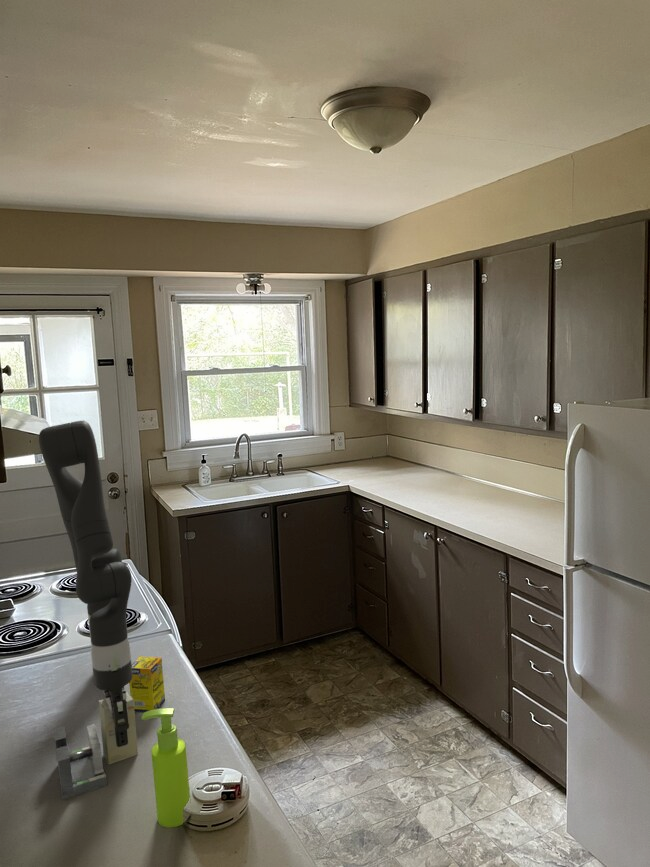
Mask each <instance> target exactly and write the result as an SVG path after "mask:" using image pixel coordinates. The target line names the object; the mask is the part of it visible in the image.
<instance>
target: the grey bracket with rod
mask: <svg viewBox="0 0 650 867" xmlns="http://www.w3.org/2000/svg"><path fill="white" fill-rule="evenodd" d="M65 728H66V727H65V726H60V727H56V728H53V734H54V744H55V752H56V762H57V769H58V777H59V784H60V791H61V800H66V799H69V798H72V797H76V796H79V795H81V794H85V793H87V792H91V791H93V790H97V789H99V788H103V787H105V786H107V785H108V782H107V781H108V780H107V775H106V774H107V773H105V770H104V768H103V774H102V775H99V776H96V777H95V774H94V770H93V766H92V761H91V757H86V758H83V759H80V760H77V761H73V762H70V756H69V755H70V754H74V753H77V752H80V751H84V750H87V749H89V746H87V747H86V746H85V747H82V748H79V749H75V750H72V751H71V752H69V746H68V741H67V733H66V729H65Z"/></svg>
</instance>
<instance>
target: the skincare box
mask: <svg viewBox="0 0 650 867" xmlns="http://www.w3.org/2000/svg"><path fill="white" fill-rule="evenodd" d="M126 696H127V698H126V701H127V709H128V713H127V714H128V724H129V729H127V735H128V744H127V745H124V746H121V747H117V744H116V736H115V729H114V722H113V719H111V718H110V714H109V707H108V705H107V704H106V699H105V698H103V699H99V700H98V707H99V719H100V720H99V721H100V730H101V732H100V733H101V742H102V753H103V755H102V756H104V759H105V762H106V763H107V765H112V764H115V763H117V762H118V763H119V762H120V761H123V760H127V759H129V758H132V757H134V756H137V755H138V753H139V752H138V742H137V740H138V739H137V729H136V727H137V726H136V714H135V712H134V701H133V698H132V696H131V695H130V691H126ZM111 707H112V706H111ZM112 712H113V713H114V711H113V710H112ZM121 722H124V719H121V720H118V723H121Z"/></svg>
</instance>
